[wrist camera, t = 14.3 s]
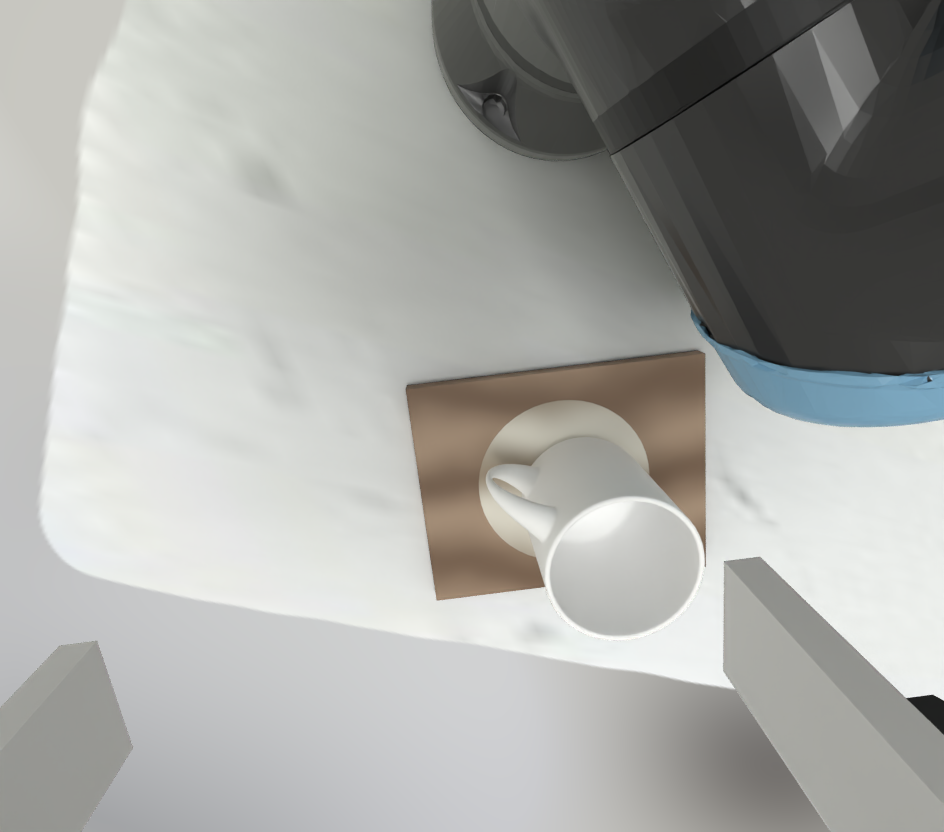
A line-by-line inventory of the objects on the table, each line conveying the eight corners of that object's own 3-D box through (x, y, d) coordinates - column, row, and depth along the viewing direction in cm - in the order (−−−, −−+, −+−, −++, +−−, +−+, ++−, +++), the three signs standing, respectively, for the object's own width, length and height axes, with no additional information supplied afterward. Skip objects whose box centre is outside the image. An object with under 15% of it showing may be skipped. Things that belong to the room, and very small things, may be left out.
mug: (508, 393, 39) (532, 444, 29) (662, 462, 41) (736, 533, 31) (454, 502, 41) (459, 586, 31) (604, 563, 43) (654, 662, 33)
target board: (406, 385, 40) (405, 389, 39) (697, 350, 41) (705, 353, 39) (436, 591, 45) (436, 600, 43) (698, 558, 45) (706, 566, 44)
